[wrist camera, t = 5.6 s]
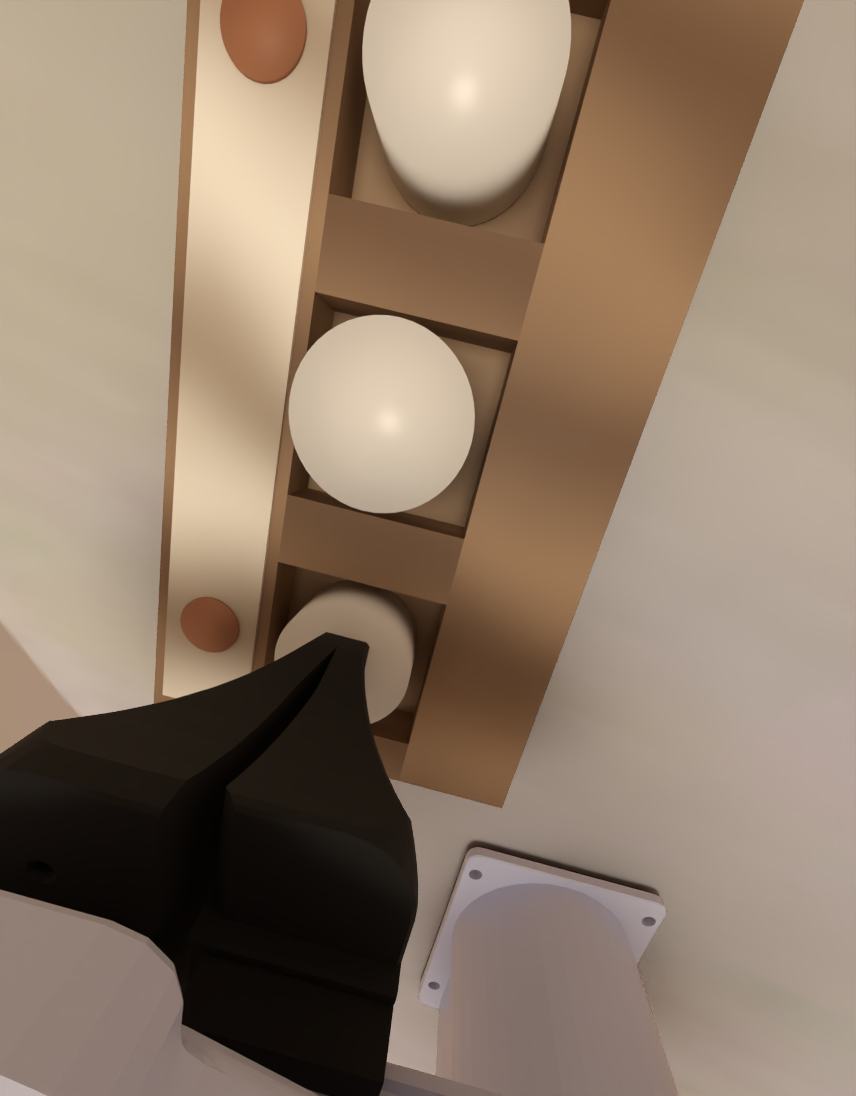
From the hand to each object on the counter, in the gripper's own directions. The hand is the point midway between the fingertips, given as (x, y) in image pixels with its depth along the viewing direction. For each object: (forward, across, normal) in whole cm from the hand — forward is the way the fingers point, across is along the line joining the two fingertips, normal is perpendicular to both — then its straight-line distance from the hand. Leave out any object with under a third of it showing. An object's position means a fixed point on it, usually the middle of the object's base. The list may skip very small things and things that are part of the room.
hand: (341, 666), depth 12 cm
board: (+2, 0, -7) cm, 7 cm away
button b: (+2, 0, 0) cm, 2 cm away
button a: (+2, 0, -14) cm, 14 cm away
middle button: (+1, 0, -7) cm, 7 cm away
